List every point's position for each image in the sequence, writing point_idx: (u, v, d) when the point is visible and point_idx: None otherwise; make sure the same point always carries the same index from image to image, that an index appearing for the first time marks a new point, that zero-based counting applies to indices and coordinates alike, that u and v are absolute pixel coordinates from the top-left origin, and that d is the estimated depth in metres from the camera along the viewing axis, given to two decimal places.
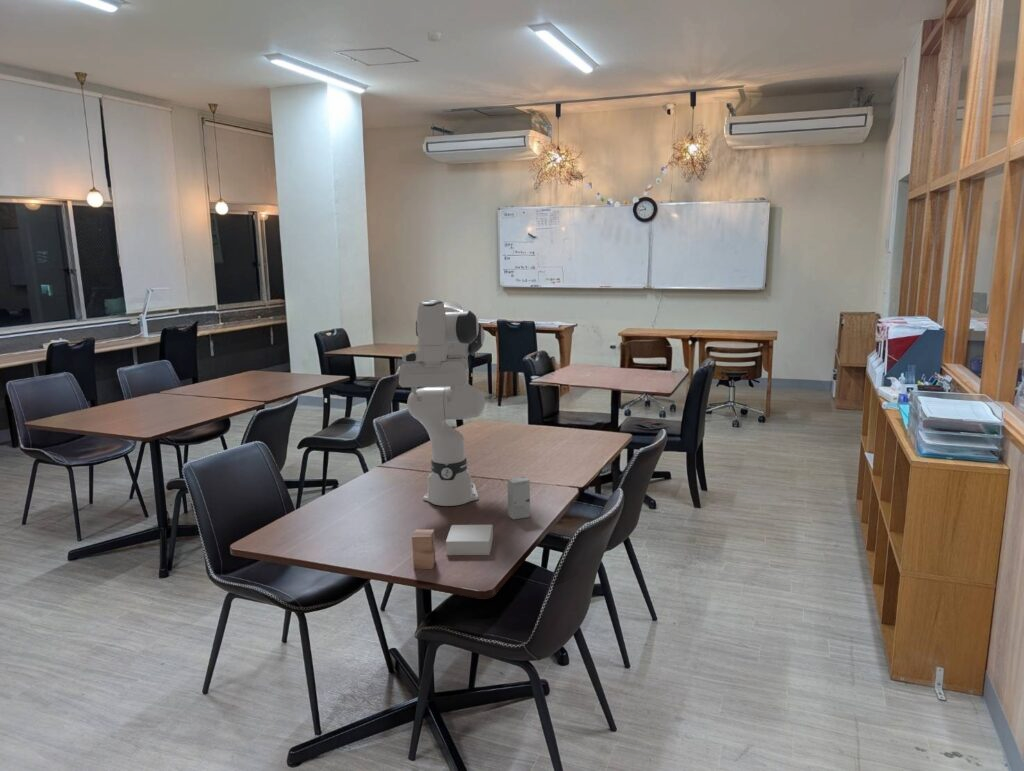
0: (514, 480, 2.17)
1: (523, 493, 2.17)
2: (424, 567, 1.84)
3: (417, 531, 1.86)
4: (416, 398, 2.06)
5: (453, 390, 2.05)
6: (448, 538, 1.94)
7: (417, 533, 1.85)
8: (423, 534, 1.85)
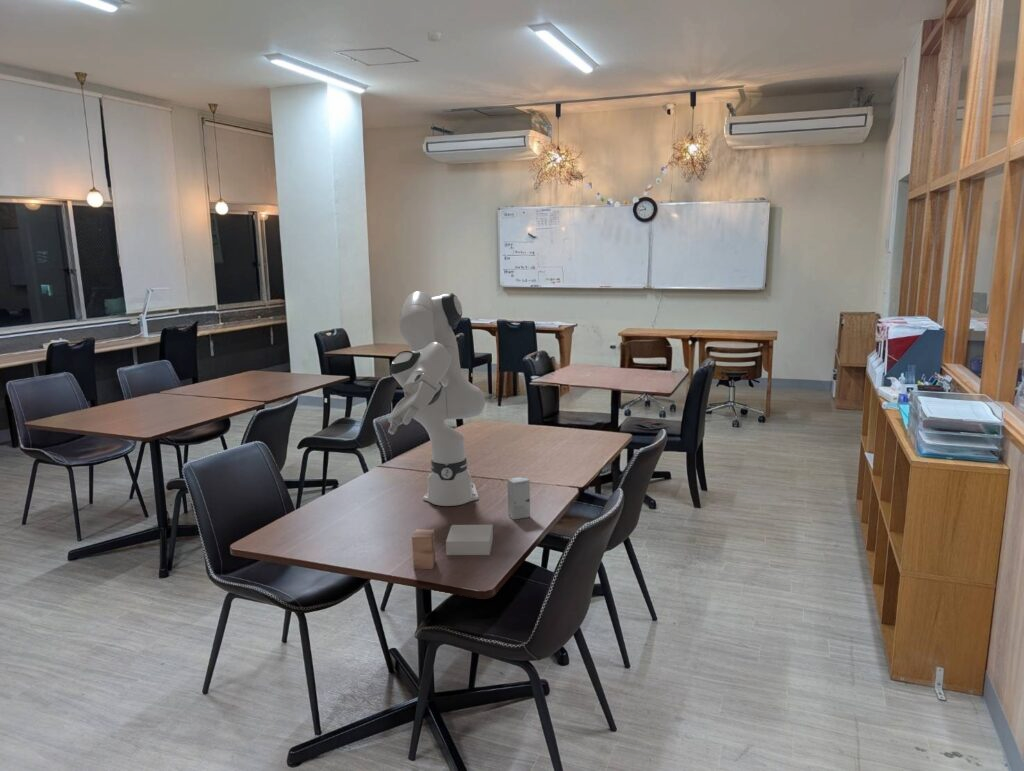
0: (514, 480, 2.17)
1: (523, 493, 2.17)
2: (424, 567, 1.84)
3: (417, 531, 1.86)
4: None
5: None
6: (448, 538, 1.94)
7: (417, 533, 1.85)
8: (423, 534, 1.85)
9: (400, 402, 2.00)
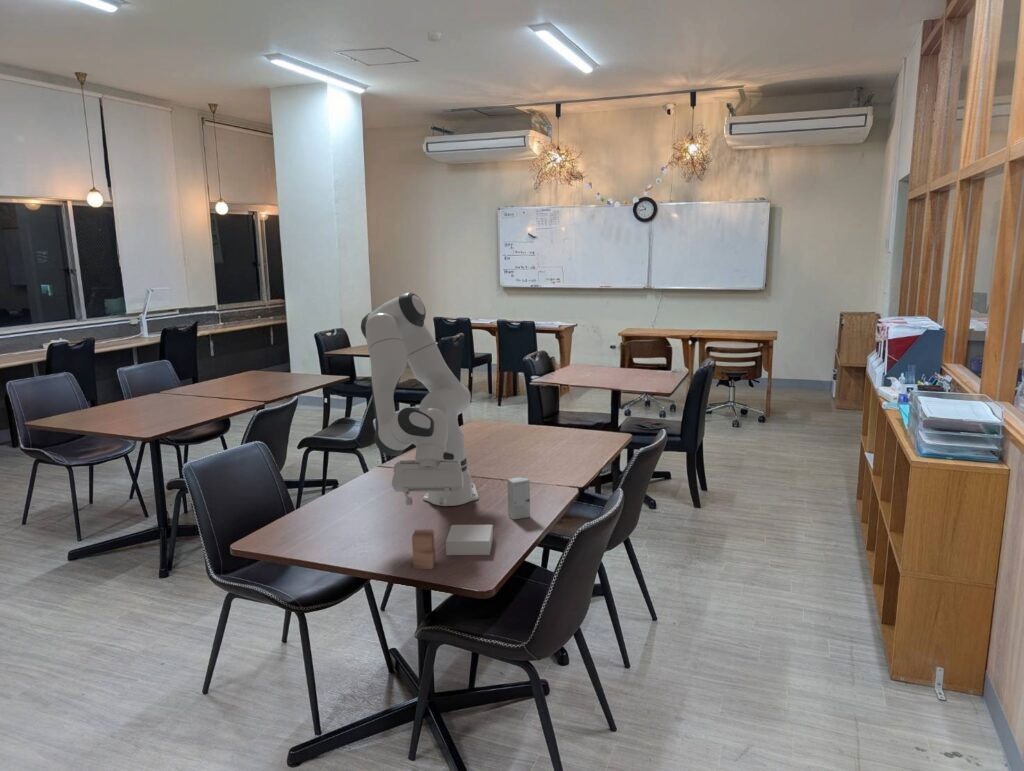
0: (514, 480, 2.17)
1: (523, 493, 2.17)
2: (424, 567, 1.84)
3: (417, 531, 1.86)
4: None
5: None
6: (448, 538, 1.94)
7: (417, 533, 1.85)
8: (423, 534, 1.85)
9: (407, 469, 1.99)
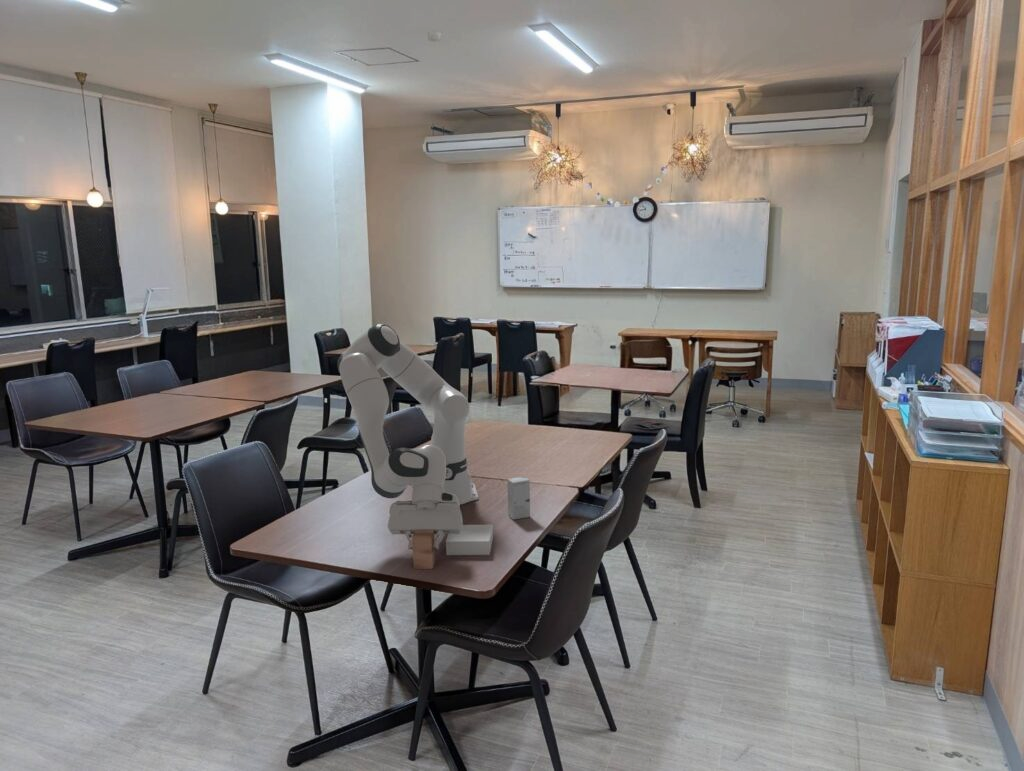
0: (514, 480, 2.17)
1: (523, 493, 2.17)
2: (424, 567, 1.84)
3: (417, 531, 1.86)
4: None
5: None
6: (448, 538, 1.94)
7: (417, 533, 1.85)
8: (423, 533, 1.85)
9: (404, 510, 1.90)
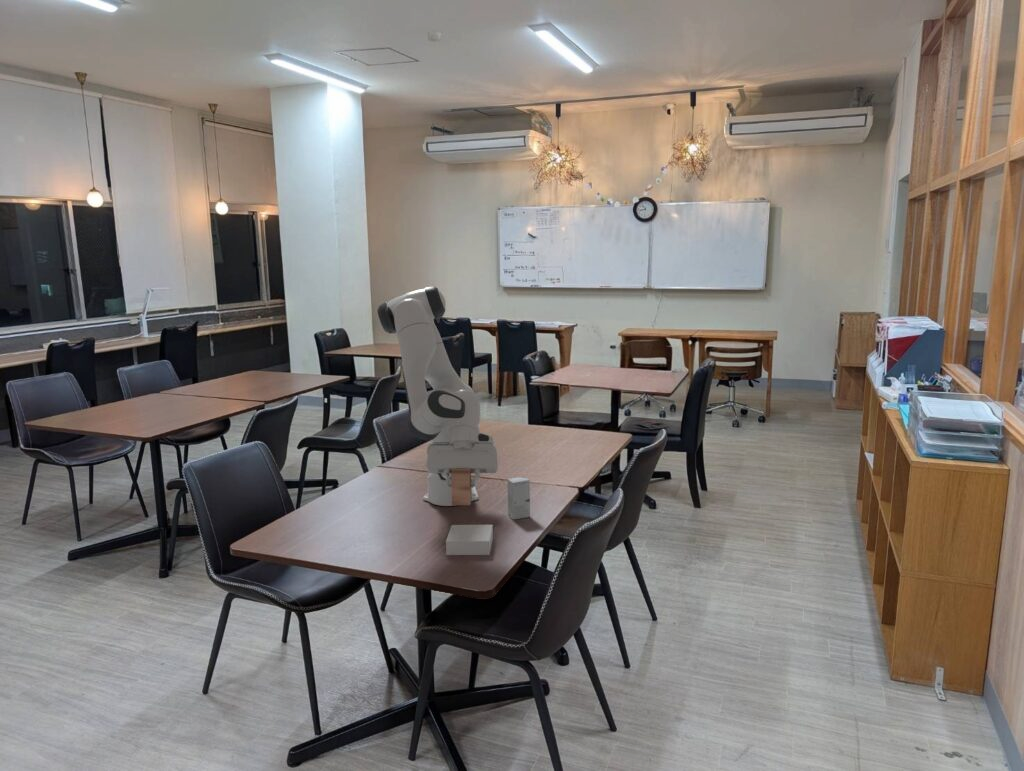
0: (514, 480, 2.17)
1: (523, 493, 2.17)
2: (462, 503, 1.91)
3: (455, 469, 1.93)
4: None
5: None
6: (448, 538, 1.94)
7: (455, 471, 1.92)
8: (461, 471, 1.91)
9: (442, 450, 1.97)
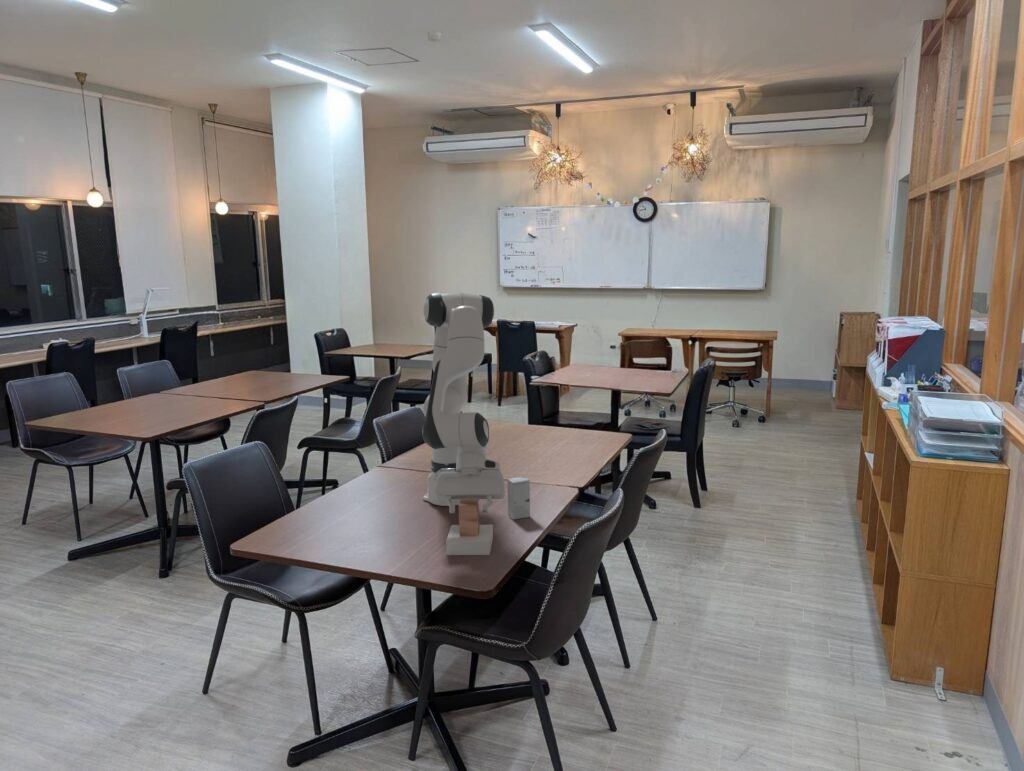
0: (514, 480, 2.17)
1: (523, 493, 2.17)
2: (470, 534, 1.95)
3: (462, 501, 1.97)
4: None
5: None
6: (448, 538, 1.94)
7: (463, 502, 1.96)
8: (468, 503, 1.95)
9: (449, 477, 2.00)
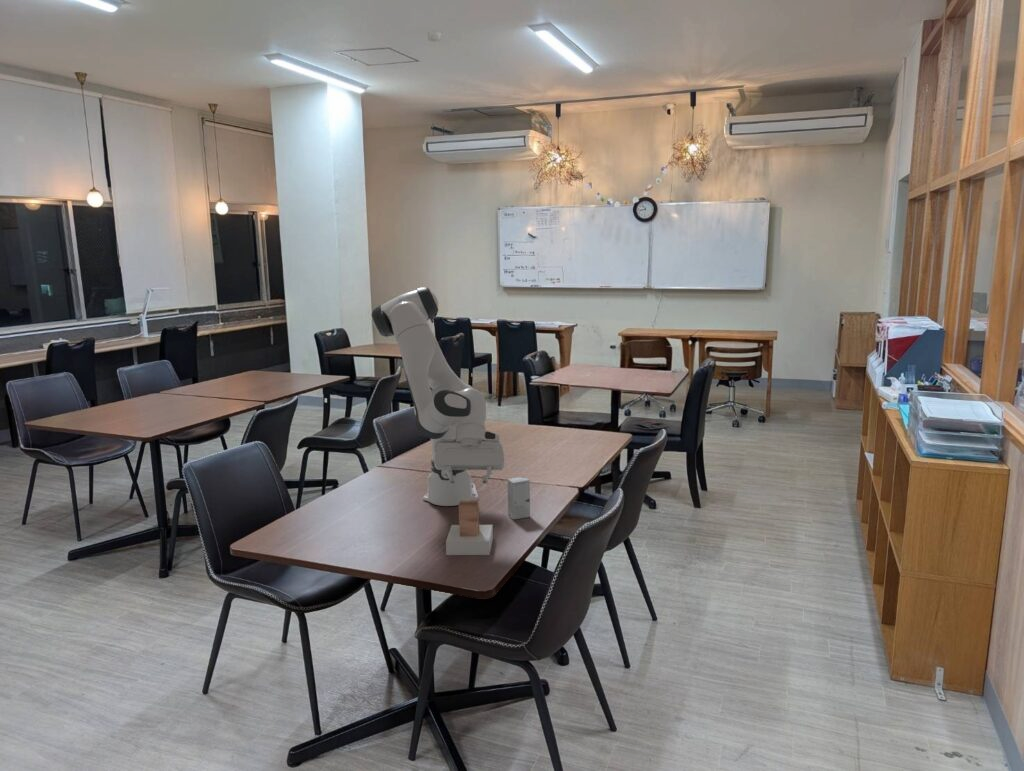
0: (514, 480, 2.17)
1: (523, 493, 2.17)
2: (470, 534, 1.95)
3: (462, 501, 1.97)
4: None
5: None
6: (448, 538, 1.94)
7: (463, 502, 1.96)
8: (468, 503, 1.95)
9: (449, 447, 2.01)
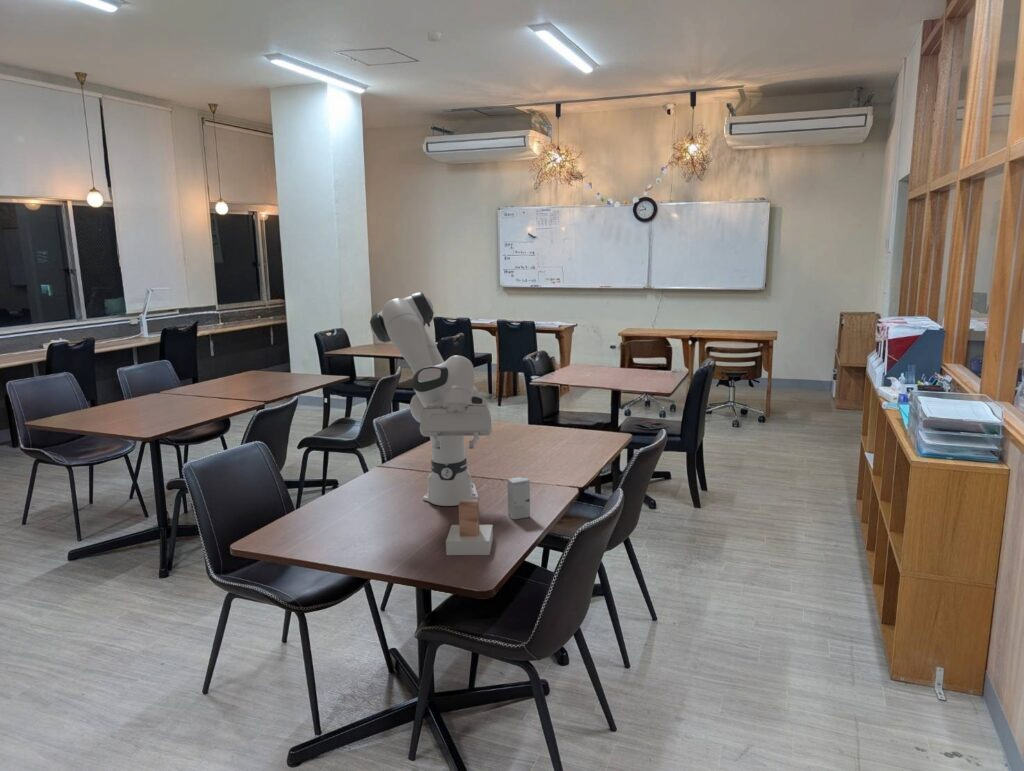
0: (514, 480, 2.17)
1: (523, 493, 2.17)
2: (470, 534, 1.95)
3: (462, 501, 1.97)
4: None
5: None
6: (448, 538, 1.94)
7: (463, 502, 1.96)
8: (468, 503, 1.95)
9: (435, 413, 1.96)
